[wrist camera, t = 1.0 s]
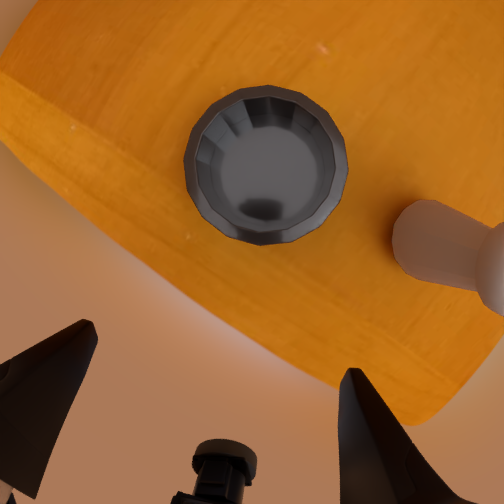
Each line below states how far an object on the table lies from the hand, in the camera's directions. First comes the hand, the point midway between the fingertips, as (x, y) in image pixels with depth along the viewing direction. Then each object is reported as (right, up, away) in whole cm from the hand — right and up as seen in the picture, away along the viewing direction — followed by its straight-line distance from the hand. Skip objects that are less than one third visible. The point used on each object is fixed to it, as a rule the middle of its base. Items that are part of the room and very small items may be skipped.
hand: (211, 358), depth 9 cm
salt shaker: (+14, +5, +12) cm, 19 cm away
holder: (+2, +9, +12) cm, 15 cm away
